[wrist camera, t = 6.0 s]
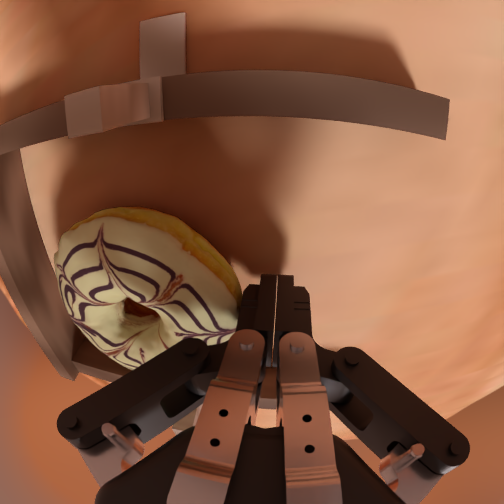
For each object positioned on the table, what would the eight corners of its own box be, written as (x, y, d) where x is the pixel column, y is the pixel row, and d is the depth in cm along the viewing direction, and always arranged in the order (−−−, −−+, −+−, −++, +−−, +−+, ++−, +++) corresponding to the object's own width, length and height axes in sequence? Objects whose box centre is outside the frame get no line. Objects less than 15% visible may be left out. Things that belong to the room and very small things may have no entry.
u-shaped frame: (0, 82, 9) (-70, 102, 5) (420, 30, 7) (501, 10, 3) (91, 367, 22) (68, 413, 17) (337, 400, 20) (340, 460, 16)
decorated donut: (62, 274, 16) (31, 310, 13) (126, 149, 12) (77, 174, 8) (177, 362, 19) (163, 404, 16) (288, 287, 15) (286, 342, 12)
